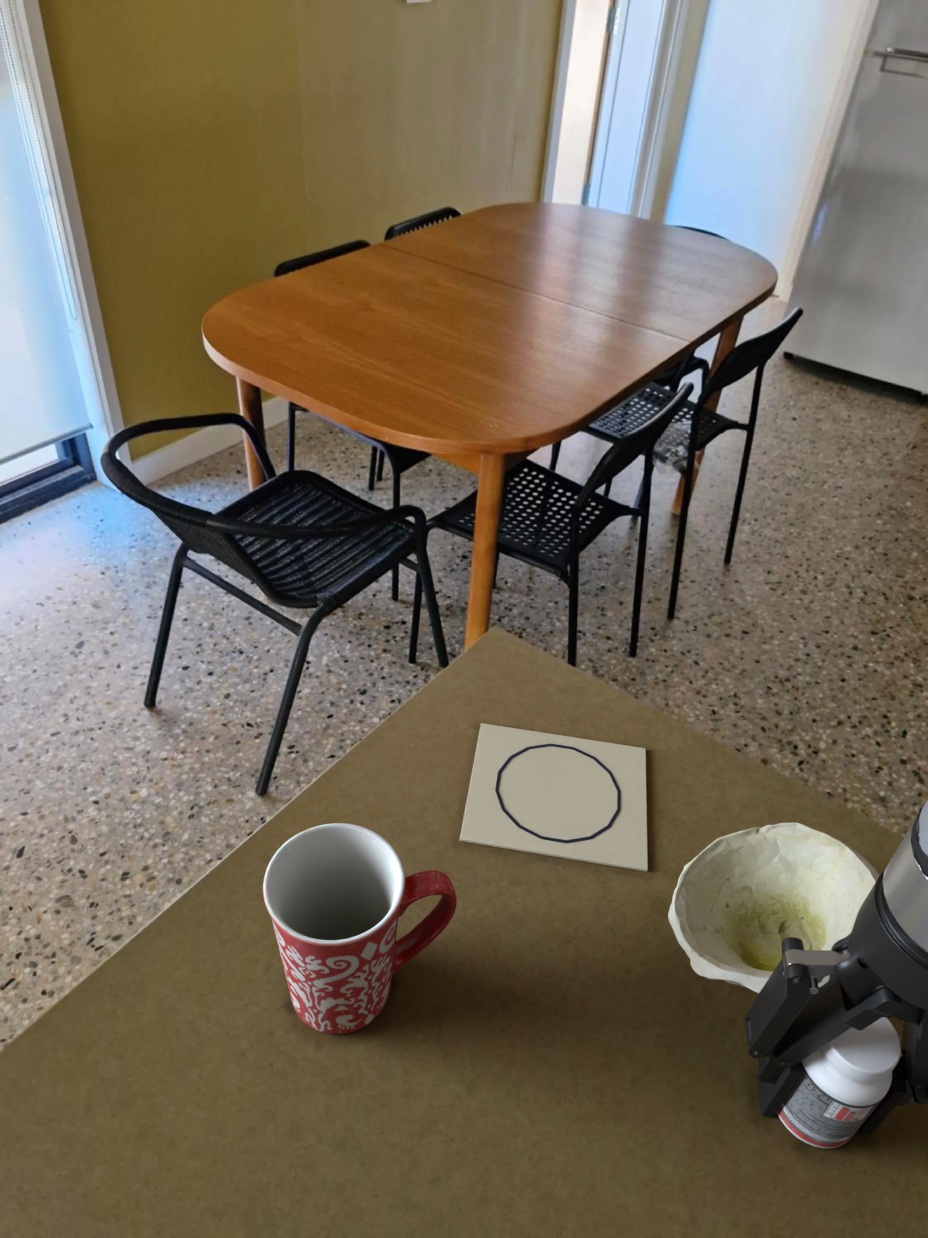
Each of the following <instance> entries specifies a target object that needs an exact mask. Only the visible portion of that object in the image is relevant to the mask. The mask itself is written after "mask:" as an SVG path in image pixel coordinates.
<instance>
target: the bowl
mask: <svg viewBox="0 0 928 1238" xmlns="http://www.w3.org/2000/svg"><path fill="white" fill-rule="evenodd" d="M879 876H880V874H879V873H878V871H877V870H876V868H875V867H874V866H873V865H872V864H871V863H870V862H869V861H868V860H867V859H866V858H864V857H863V855H861V854H860V853H859V852H858V851H857V850H855V849H854V848H852V847H851V846H849V845H848V844H847V843H845V842H844V841H842V840H840V839H838V838H837V837H835V836H832V835H830V834H828V833H825V832H823V831H820V830H817V829H814V828H811V826H808V825H805V824H803V823H800V822H795V821H794V822H792V821H791V822H790V821H789V822H787V821H786V822H780V823H776V824H767V825H764V826H762V827H759V826H756V827H750V828H748V829H744V830H739V831H735V832H733V833H732V832H731V833H729V834H726V835H722V836H719V837H718V838H716V839H715V840H713V841H712V842H711V843H710V844H708V845H707V846H706V847H705V848H704V849H703V850H702V851H701V852H699V853H698V855H696V856H695V857H693V858H692V860H690V861H688V862H687V863H686V864H685V865H684V866H683V870H682V872H681V873H680V875H679V877H678V880H677V884H676V887H675V889H674V891H673V894H672V899H671V903H670V906H669V910H668V914H667V919H668V922H669V924H670V926H671V928H672V931H673V933H674V935H675V938H676V940H677V942H678V944H679V945H680V947H681V948H682V949H683V950H684V952H685V954H686V956H687V957H688V959H689V962H690V963H689V964H690V967H691V969H692V970H693V972H694V973H695V974H697V975H698V976H700V977H704V978H707V979H709V980H722V981H724V982H725V983H728V984H729V985H730V984H731V985H735V986H736V985H737V986H740V987H743V988H747V989H749V990H751V991H752V992H755V993H757V994H759V993H760V991H761V990H762V988H763V987H764V985H765V984H766V982H767V981H768V979H769V978H770V976H771V975H772V973H773V971H774V970H775V968H776V967H777V965H778V964H779V962H780V961H781V959H782V948H781V942H782V940H784V939H785V938H788V937H796V938H799V939H801V940H802V941H803V945H804V950H831V949H832V946H833V945H834V944H835V943H836V942H837V941H839V940H840V939H843V938H845V937H846V936H848V935H849V934H850V933H851V932H852V929H853V926H854V923H855V920H856V917H857V914H858V911H859V909H860V907H861V905H862V904H863V902H864V900H865V899H866V897H867V896H868V894H869V892H870V891H871V889H872V887H873V886H874V884H875V883H876V881H877V879H878V878H879ZM829 978H830V975H828V976H826V977H824V978H823V980H822V981H821V982H820V983H818V989H819V988H820V987H821V986H823V985H824V984H825V983H827V982H828V981H829Z"/></svg>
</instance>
